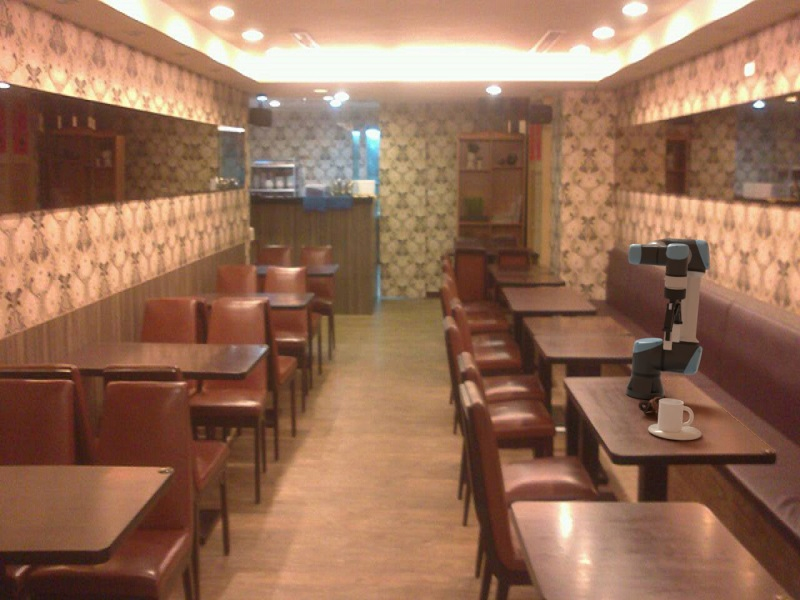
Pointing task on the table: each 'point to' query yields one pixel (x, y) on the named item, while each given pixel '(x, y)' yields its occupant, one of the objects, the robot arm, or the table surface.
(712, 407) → the table surface
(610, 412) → the table surface
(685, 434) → the serving plate
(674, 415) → the mug
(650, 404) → the brown twisted loop piece
